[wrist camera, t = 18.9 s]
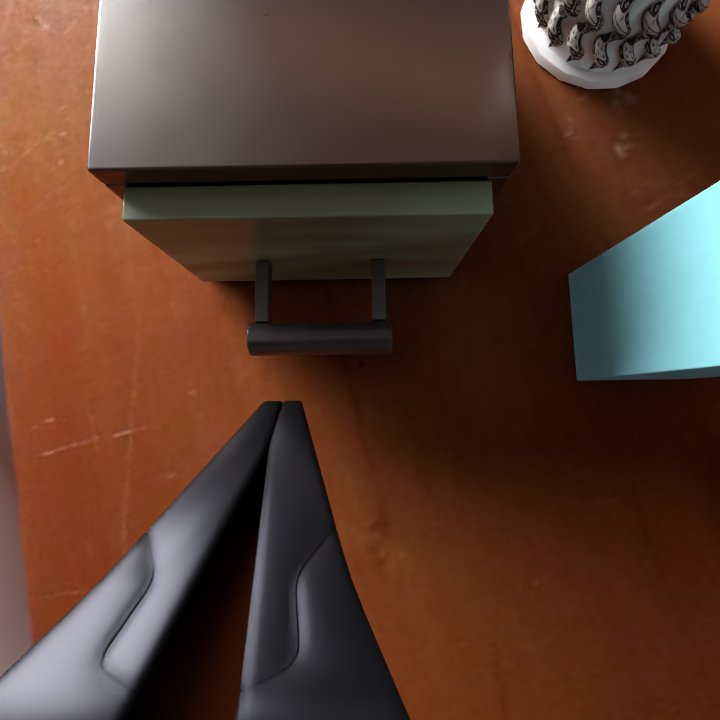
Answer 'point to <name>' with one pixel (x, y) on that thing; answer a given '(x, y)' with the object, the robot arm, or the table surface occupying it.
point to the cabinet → (302, 91)
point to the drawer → (314, 243)
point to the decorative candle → (603, 37)
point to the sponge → (653, 300)
